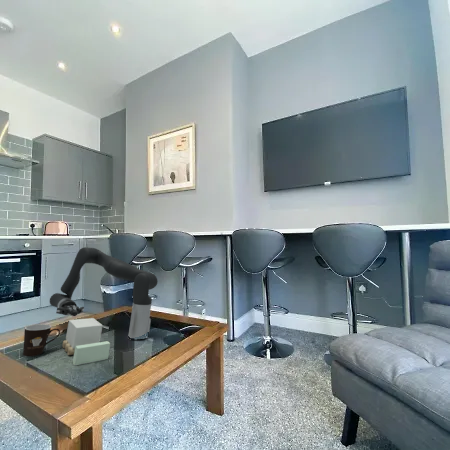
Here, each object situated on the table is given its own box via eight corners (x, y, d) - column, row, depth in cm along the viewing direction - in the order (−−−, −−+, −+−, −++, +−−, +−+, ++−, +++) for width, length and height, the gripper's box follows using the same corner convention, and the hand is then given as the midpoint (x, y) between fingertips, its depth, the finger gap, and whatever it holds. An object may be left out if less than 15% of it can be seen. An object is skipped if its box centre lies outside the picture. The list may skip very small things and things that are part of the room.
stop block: (105, 356, 102) (107, 341, 103) (107, 358, 100) (110, 343, 100) (72, 362, 94) (75, 346, 94) (74, 365, 91) (77, 348, 92)
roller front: (98, 348, 109) (99, 341, 109) (100, 351, 106) (101, 343, 107) (66, 354, 100) (68, 346, 101) (68, 356, 98) (69, 348, 99)
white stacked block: (90, 335, 115) (93, 318, 116) (99, 344, 106) (102, 325, 107) (65, 338, 108) (69, 320, 109) (73, 348, 99) (76, 328, 100)
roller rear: (91, 342, 115) (92, 335, 115) (93, 344, 113) (95, 337, 113) (62, 346, 107) (63, 339, 107) (63, 349, 105) (64, 341, 105)
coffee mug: (14, 357, 93) (20, 330, 94) (26, 349, 101) (31, 323, 103) (49, 357, 96) (54, 330, 97) (58, 349, 104) (62, 324, 106)
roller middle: (94, 345, 112) (96, 338, 112) (96, 347, 110) (98, 340, 110) (64, 350, 104) (65, 342, 104) (65, 352, 101) (67, 345, 102)
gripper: (53, 299, 129) (60, 306, 117) (81, 298, 138) (90, 305, 126) (50, 314, 128) (57, 323, 116) (79, 312, 137) (88, 320, 125)
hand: (74, 314), depth 121 cm, fingers closed
